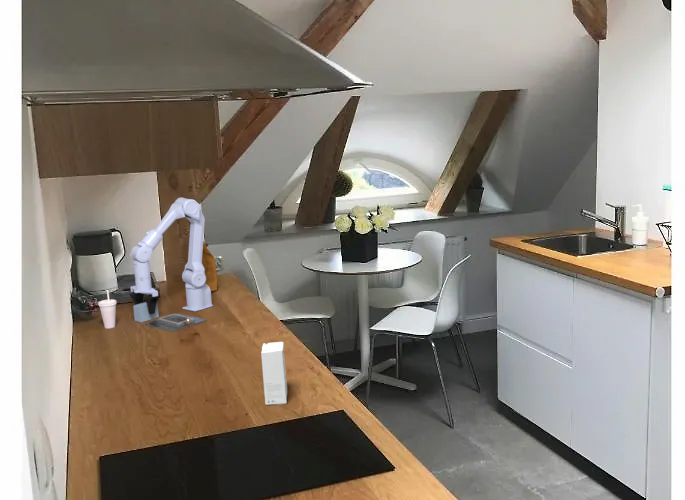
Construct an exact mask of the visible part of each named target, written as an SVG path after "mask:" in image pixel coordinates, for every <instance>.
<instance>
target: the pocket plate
mask: <svg viewBox="0 0 685 500" xmlns="http://www.w3.org/2000/svg"><path fill="white" fill-rule="evenodd" d="M204 322H208V319H206V318H201V317H197V316H194V315H189V314H186V313H181V312H178V313H171V314H168V315H165V316H161V317H157V318H156V320H152V321H148V322H146V323H145V326H149V327H153V328H156V329H160V330H164V331H165V332H166V331H167V332H171V333H174V332H176V331H179V330H183V329H185V328H190V327H192V326H195V325H199V324H202V323H204Z"/></svg>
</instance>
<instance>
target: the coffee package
mask: <svg viewBox="0 0 685 500" xmlns="http://www.w3.org/2000/svg"><path fill="white" fill-rule="evenodd" d="M208 247H209V244H208V243H206V242H205V241H204V240H203V252H202V265H203V267H204V269H205V276H206V282H205V284H207V285H208V286H209V287H210V290H211V292H215V291H218V274H217V273H218V272H217V264H216V259H215V257H214V255H213V254H212V253H211V252H210V250H209V249H208Z"/></svg>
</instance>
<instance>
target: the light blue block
mask: <svg viewBox="0 0 685 500" xmlns="http://www.w3.org/2000/svg"><path fill="white" fill-rule="evenodd" d="M158 307H159V305H158V303H157V304H156V309H155V313H154V314H149V312H148V306H147V303H146V301H145V302H144V301H143V303H141V304H137V305H135V304H134V305H133V317H134V321H135V322H138V323H144V322H146V321H149V320H153V318H154V319H157V318H160V316H159V308H158ZM156 317H157V318H156Z"/></svg>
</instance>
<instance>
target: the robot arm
mask: <svg viewBox="0 0 685 500" xmlns="http://www.w3.org/2000/svg"><path fill="white" fill-rule="evenodd" d="M203 213H204V212H203V211H202V209H201V204H200V203H198V202H197V201H196V200H195V199H190V198H185V197H178V198H177V199H176V200H175V201H174V202H173V203H172V204H171V205H170V208H169V209H168V211H167V212H166V213H165V214H164V216H163V217H162V219H161V220H160V221H159V223H158V224H157V225H156V227H155V228H153V229H150V230H149V231H146V232H145V235H144V237H143V238H142V239H141V241H139V242H138V243H137V245H135V246H133V248H132V249H131V252H130V254H129V255H130V258H131V259H132V260H133V272H134V273H133V274H134V282H135V285H133V286H130V292H131V293H129V297H130V298H131V300H132V302H133V304H134V305H137V304H141V303H144V300H145V302H146V303H147V306H148V312H149V314H154V313H155V309H156V304H158V302H159V298H160V294H159V292H158V290H156V289H155V288H153V287H152V286H153V285H152V276H151V265H150V260H151V259H152V253H153V252H154V251H155V249H156V248H157V247H158V246H159V244H160V243H161V242H162V241H163V237H164V236H163V234H164V233H165V232H166V231H167V230H168V229H169V227H171V226H172V224H173V223H174V222H175V221H176V220H178V219H183V218H185V219H187V220H188V221H189V222H190V226H189V240H188V242H189V243H188V253H187V254H188V256H187V263H185V265H184V270H183V271H182V275H181V278H182V281H183V282H184V283H185V286H184V287H185V297H186V305H185V306H183V307H182V309H183V310H185V311H191V312H197V311H201V310H205V309H207V308H211V307H213V306H214V304H213V303H212V302H213V301H212V291H211V290H210V287H209V286H208V285H207V284H205V282H206V276H205V269H204V267H203V265H202V252H203V241H204V237H205V236H204V234H205V221H206V220H205V216H204V214H203ZM145 295H147V296H145Z"/></svg>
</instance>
